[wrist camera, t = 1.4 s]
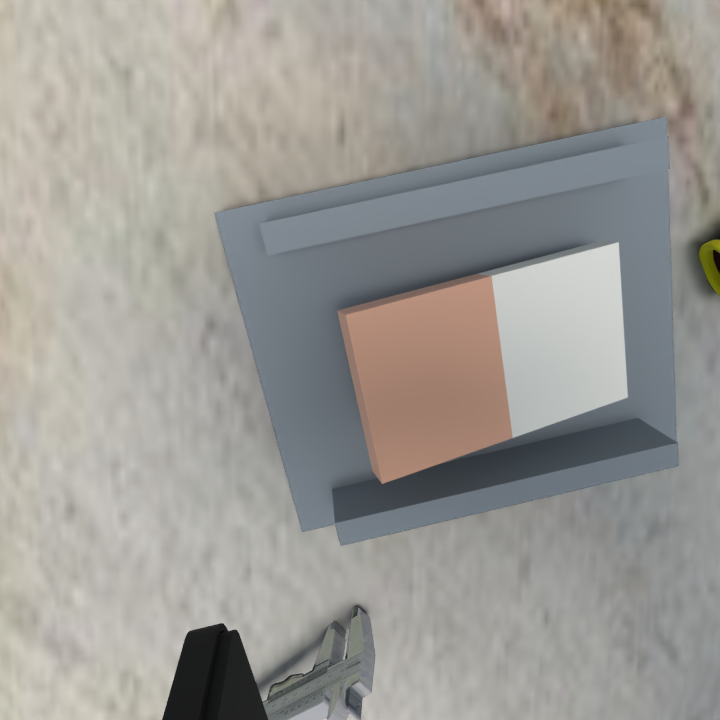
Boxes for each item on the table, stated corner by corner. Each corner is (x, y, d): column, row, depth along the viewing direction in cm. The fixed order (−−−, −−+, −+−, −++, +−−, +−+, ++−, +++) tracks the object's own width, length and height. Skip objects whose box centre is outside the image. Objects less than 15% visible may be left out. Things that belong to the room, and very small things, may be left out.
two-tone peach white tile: (597, 241, 23) (618, 242, 22) (608, 390, 25) (627, 397, 24) (337, 310, 20) (345, 315, 19) (372, 471, 22) (382, 484, 21)
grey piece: (638, 123, 25) (717, 103, 20) (652, 428, 29) (719, 471, 25) (221, 212, 24) (200, 213, 19) (302, 510, 29) (301, 570, 24)
